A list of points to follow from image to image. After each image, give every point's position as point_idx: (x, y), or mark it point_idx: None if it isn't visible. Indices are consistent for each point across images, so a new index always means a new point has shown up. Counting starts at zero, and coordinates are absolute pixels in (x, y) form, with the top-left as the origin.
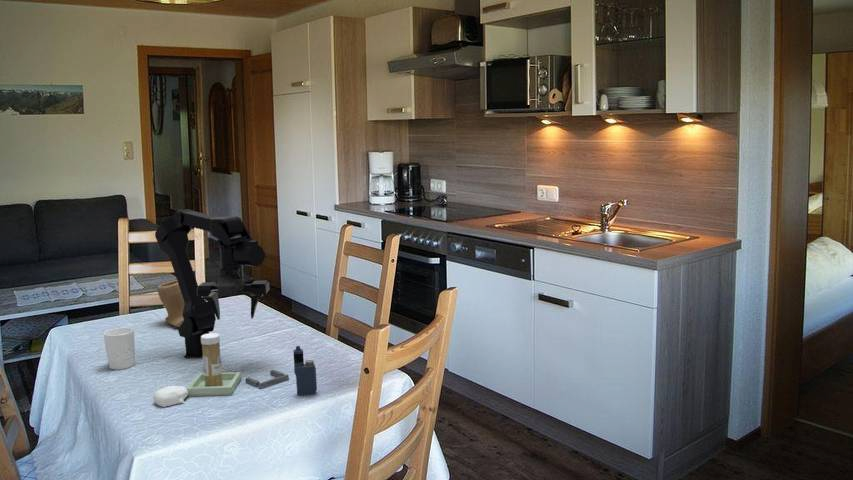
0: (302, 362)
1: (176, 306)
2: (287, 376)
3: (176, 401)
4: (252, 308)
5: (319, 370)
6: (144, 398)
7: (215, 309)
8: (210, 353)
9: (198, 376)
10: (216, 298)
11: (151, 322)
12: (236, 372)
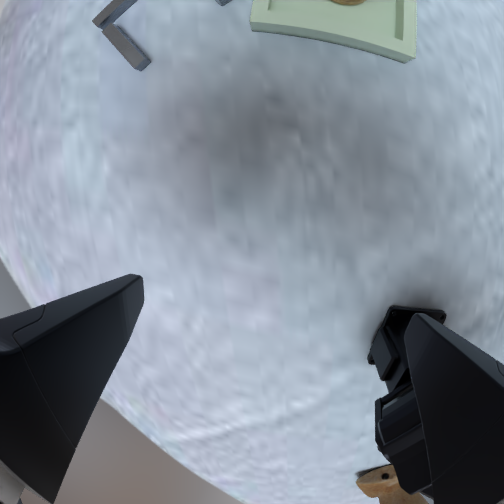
0: None
1: (407, 498)
2: (96, 18)
3: None
4: (69, 304)
5: (30, 104)
6: (498, 8)
7: (477, 357)
8: None
9: (408, 26)
10: (473, 475)
11: None
12: (267, 19)
